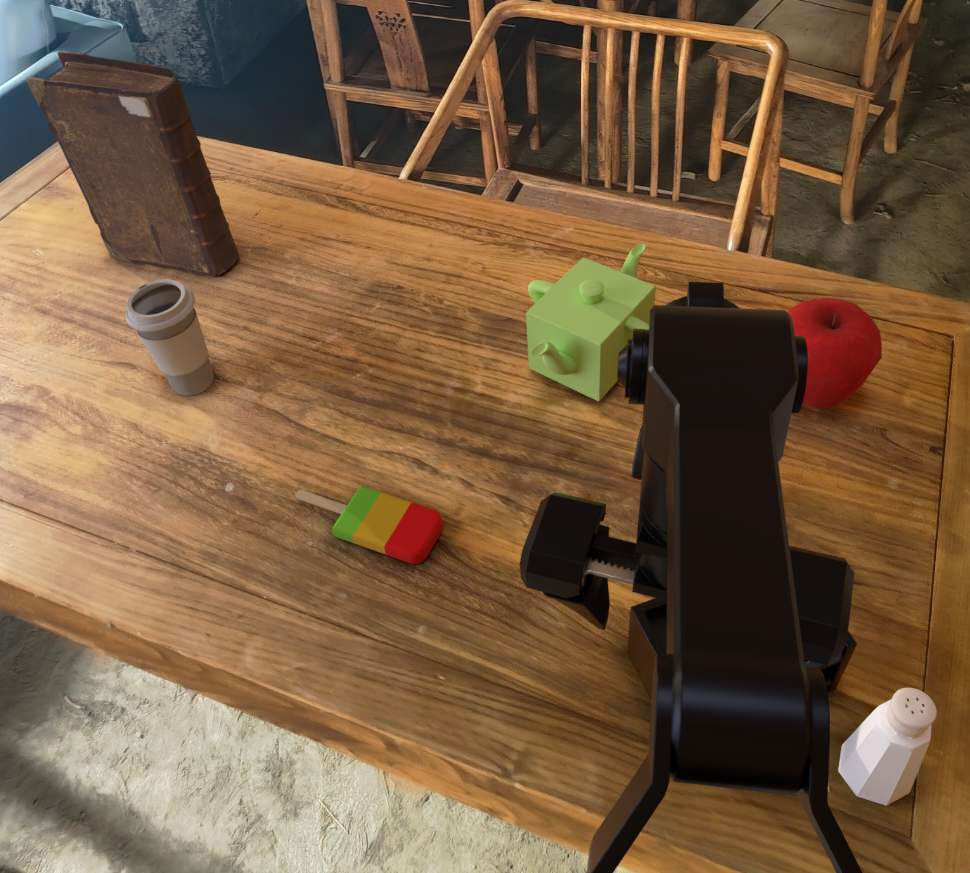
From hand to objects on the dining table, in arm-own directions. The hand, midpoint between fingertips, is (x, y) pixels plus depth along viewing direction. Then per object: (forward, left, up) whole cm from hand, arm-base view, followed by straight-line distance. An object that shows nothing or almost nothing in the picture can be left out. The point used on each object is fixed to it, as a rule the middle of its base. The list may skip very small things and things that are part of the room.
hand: (671, 641), depth 61 cm
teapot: (+40, -12, -15) cm, 44 cm away
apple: (+27, -31, -15) cm, 43 cm away
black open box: (+3, -8, -15) cm, 17 cm away
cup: (+55, +29, -15) cm, 64 cm away
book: (+78, +28, -15) cm, 84 cm away
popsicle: (+29, +16, -15) cm, 36 cm away
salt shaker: (-8, -14, -15) cm, 22 cm away
